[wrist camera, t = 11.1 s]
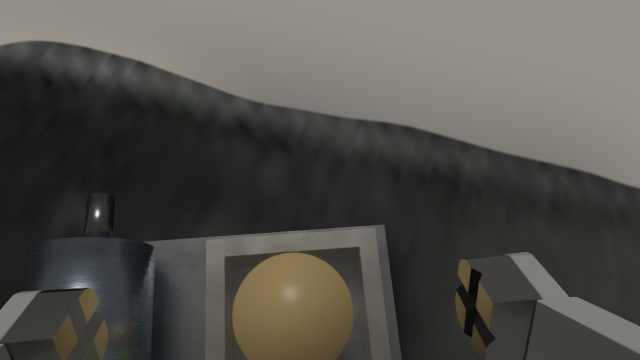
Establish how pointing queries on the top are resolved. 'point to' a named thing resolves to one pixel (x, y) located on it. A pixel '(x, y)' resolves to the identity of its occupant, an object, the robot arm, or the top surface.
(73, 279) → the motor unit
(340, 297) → the tan knob head
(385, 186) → the top surface
